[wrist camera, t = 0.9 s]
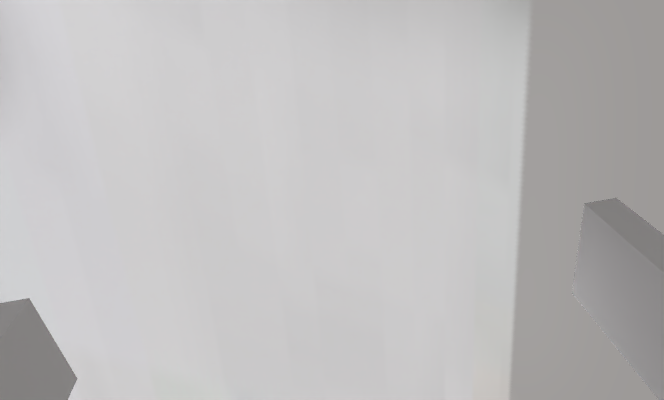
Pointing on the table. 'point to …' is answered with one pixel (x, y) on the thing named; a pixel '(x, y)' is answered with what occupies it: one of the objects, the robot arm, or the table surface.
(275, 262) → the table surface
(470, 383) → the table surface
